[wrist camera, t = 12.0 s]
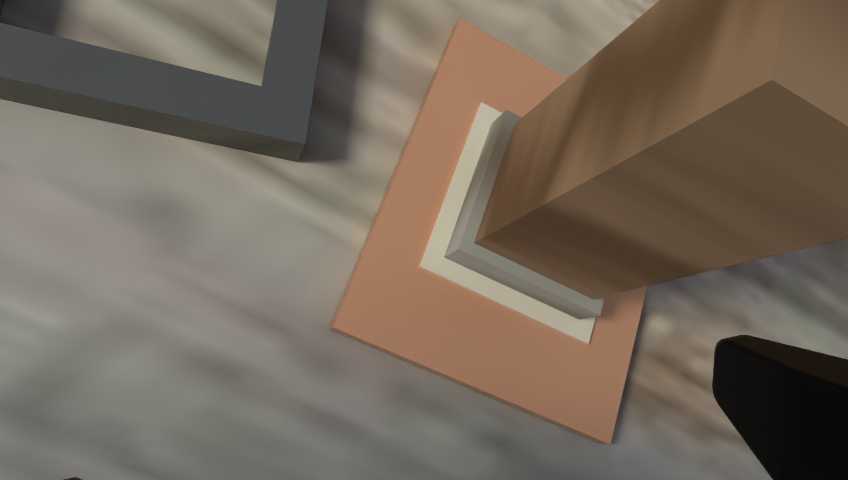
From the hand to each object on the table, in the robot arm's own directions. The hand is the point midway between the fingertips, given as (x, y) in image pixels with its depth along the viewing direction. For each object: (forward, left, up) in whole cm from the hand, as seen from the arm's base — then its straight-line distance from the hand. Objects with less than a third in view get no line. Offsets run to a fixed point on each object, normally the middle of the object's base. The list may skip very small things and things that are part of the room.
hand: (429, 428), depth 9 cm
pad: (+4, -9, -10) cm, 14 cm away
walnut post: (+4, -9, -10) cm, 14 cm away
